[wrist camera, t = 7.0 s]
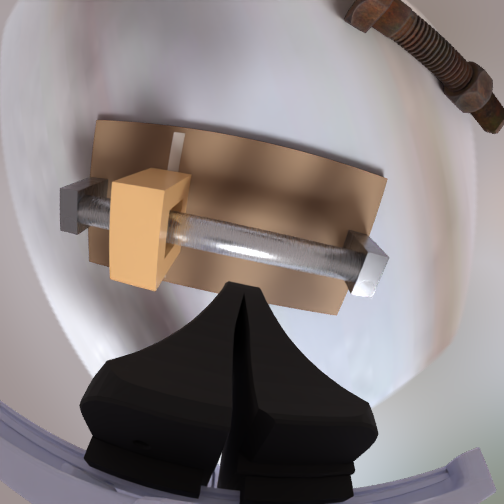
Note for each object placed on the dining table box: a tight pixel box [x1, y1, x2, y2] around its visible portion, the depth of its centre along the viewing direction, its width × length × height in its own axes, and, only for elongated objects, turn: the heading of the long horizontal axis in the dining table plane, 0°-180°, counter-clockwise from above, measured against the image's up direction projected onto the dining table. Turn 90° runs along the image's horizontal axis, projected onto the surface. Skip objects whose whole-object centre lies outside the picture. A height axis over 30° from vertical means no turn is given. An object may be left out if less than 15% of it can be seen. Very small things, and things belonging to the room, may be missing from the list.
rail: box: [60, 177, 389, 298], centre depth 18 cm, size 22×3×5 cm, turn 78°
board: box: [88, 120, 387, 315], centre depth 20 cm, size 22×12×1 cm, turn 77°
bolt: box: [344, 0, 504, 134], centre depth 12 cm, size 6×5×15 cm
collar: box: [109, 168, 192, 291], centre depth 16 cm, size 3×6×6 cm, turn 168°
